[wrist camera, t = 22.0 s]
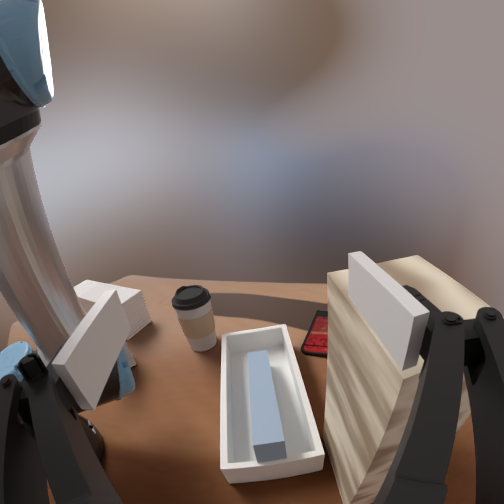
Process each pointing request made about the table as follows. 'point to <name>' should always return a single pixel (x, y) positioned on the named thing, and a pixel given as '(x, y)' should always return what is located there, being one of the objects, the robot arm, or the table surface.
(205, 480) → the table surface
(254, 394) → the block
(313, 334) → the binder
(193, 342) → the coffee cup
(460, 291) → the beige tall box
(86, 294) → the stack of papers
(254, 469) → the tray
